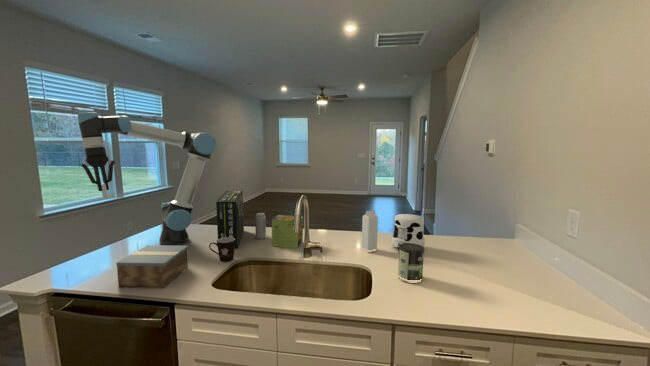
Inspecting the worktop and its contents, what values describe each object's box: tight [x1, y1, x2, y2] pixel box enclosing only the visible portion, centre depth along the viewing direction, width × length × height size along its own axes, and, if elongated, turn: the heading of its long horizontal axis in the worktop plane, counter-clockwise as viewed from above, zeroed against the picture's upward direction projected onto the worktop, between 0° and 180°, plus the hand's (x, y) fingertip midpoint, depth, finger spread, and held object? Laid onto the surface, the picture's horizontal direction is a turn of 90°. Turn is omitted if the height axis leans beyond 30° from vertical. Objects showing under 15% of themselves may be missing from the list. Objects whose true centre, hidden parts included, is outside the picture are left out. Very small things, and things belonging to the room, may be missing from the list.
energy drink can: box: [254, 212, 267, 240], centre depth 181 cm, size 6×6×15 cm
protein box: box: [271, 214, 304, 249], centre depth 170 cm, size 10×15×16 cm
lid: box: [116, 244, 189, 267], centre depth 126 cm, size 18×20×1 cm
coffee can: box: [397, 243, 425, 280], centre depth 128 cm, size 10×10×14 cm
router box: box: [215, 190, 245, 250], centre depth 177 cm, size 36×11×27 cm, turn 10°
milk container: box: [391, 213, 426, 250], centre depth 165 cm, size 17×17×18 cm
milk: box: [361, 210, 379, 250], centre depth 161 cm, size 6×6×22 cm
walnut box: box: [116, 249, 189, 289], centre depth 127 cm, size 18×20×9 cm
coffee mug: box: [208, 237, 235, 263], centre depth 147 cm, size 12×9×10 cm
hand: (105, 197), depth 141 cm, fingers closed
